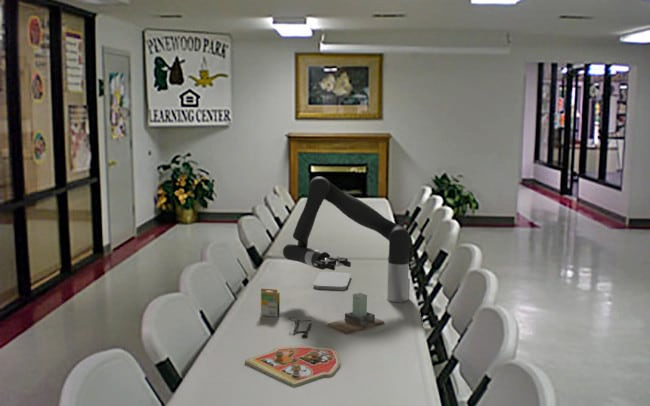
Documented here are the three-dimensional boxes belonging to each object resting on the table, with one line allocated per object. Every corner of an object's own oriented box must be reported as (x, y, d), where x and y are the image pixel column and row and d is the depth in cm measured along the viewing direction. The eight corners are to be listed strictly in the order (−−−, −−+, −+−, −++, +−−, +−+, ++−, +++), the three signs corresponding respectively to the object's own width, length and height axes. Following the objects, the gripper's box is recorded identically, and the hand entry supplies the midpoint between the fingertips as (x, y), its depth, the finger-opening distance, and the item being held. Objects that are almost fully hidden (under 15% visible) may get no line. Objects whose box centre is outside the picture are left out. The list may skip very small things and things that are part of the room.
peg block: (359, 319, 269) (360, 292, 268) (366, 321, 266) (367, 295, 265) (352, 321, 267) (352, 294, 265) (359, 323, 264) (359, 296, 262)
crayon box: (279, 314, 277) (279, 288, 275) (277, 317, 274) (277, 289, 272) (263, 313, 279) (263, 286, 277) (260, 315, 276) (260, 288, 274)
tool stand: (364, 316, 276) (364, 306, 276) (384, 323, 267) (384, 313, 267) (327, 325, 264) (327, 316, 263) (347, 334, 255) (347, 324, 254)
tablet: (351, 277, 339) (351, 273, 339) (346, 291, 314) (346, 286, 313) (320, 276, 341) (320, 271, 341) (312, 290, 316) (312, 285, 316)
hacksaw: (307, 339, 249) (307, 335, 249) (280, 338, 250) (280, 334, 250) (314, 319, 273) (314, 315, 273) (289, 318, 274) (289, 314, 274)
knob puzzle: (241, 363, 226) (241, 351, 226) (305, 342, 247) (305, 331, 246) (298, 390, 206) (298, 377, 205) (363, 365, 226) (363, 352, 225)
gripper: (304, 252, 279) (329, 259, 267) (330, 248, 288) (355, 254, 276) (304, 270, 281) (329, 277, 268) (330, 265, 289) (355, 272, 277)
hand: (342, 266), depth 272 cm, fingers open, 8 cm apart
